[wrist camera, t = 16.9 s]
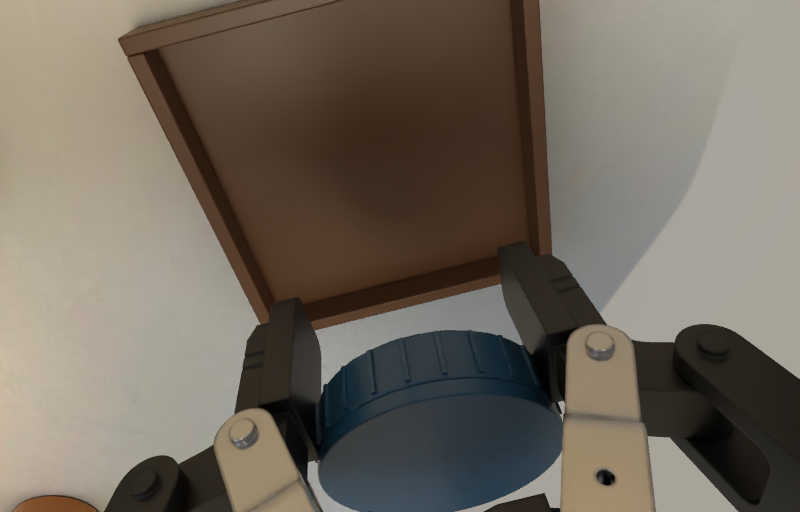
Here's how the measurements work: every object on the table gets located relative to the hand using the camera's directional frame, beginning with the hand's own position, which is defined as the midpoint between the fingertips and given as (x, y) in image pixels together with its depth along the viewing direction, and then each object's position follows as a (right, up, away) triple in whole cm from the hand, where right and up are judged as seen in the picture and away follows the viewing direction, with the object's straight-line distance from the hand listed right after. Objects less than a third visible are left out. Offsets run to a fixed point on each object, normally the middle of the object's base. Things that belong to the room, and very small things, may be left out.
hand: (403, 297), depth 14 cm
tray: (-1, +5, +8) cm, 10 cm away
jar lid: (+1, -4, -2) cm, 4 cm away
